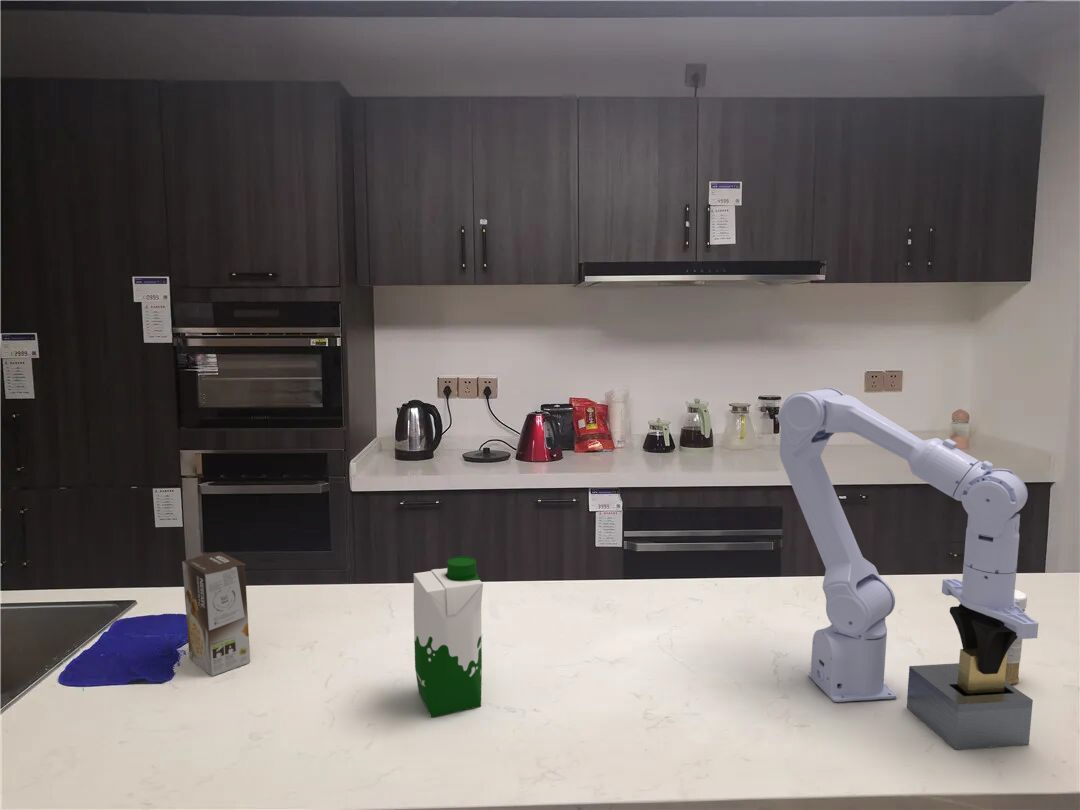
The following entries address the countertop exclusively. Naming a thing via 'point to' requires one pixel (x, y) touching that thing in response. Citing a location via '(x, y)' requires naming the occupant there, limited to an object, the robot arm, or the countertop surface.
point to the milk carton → (448, 636)
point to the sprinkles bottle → (1015, 648)
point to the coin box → (968, 709)
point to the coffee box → (216, 612)
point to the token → (978, 674)
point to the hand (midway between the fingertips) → (981, 667)
